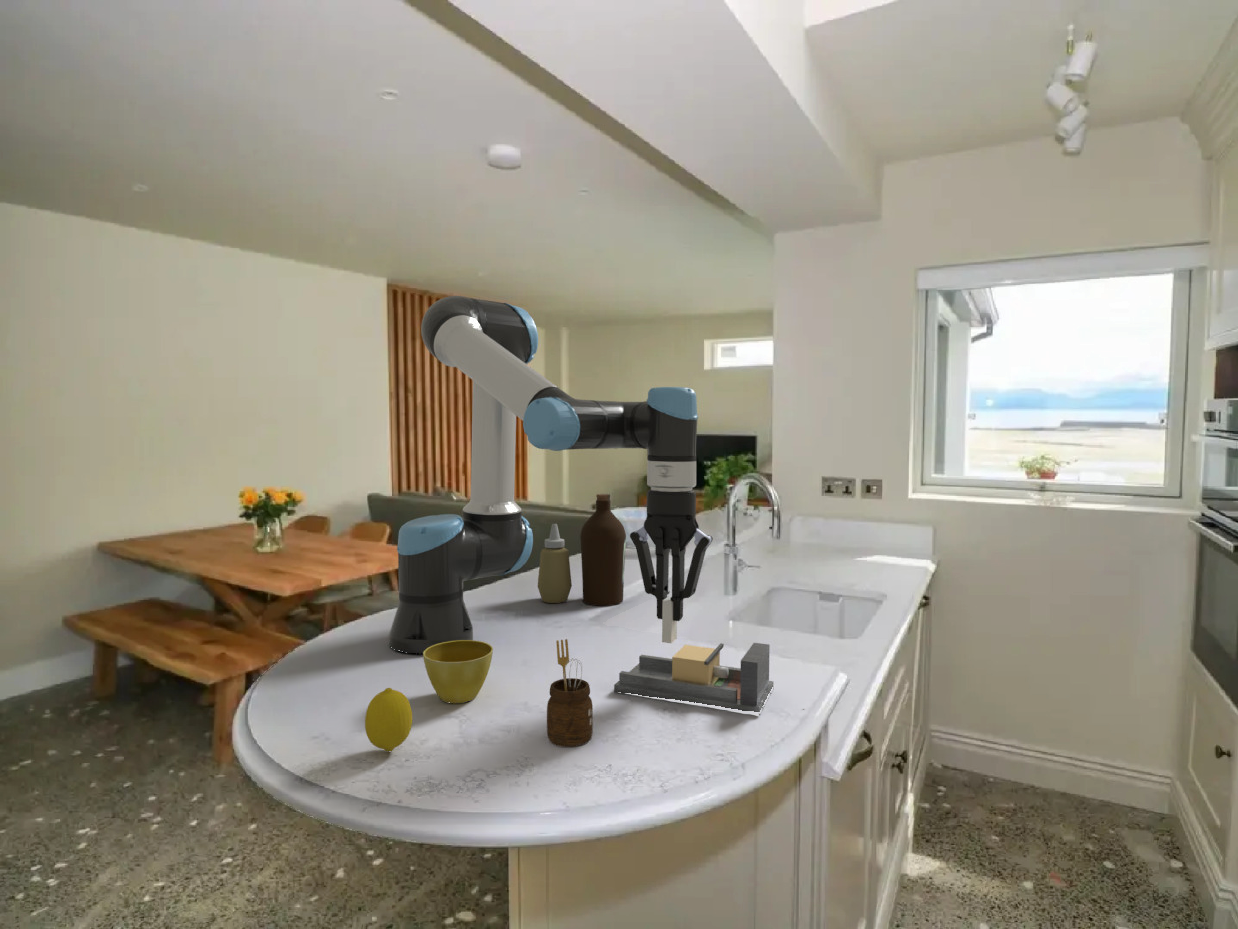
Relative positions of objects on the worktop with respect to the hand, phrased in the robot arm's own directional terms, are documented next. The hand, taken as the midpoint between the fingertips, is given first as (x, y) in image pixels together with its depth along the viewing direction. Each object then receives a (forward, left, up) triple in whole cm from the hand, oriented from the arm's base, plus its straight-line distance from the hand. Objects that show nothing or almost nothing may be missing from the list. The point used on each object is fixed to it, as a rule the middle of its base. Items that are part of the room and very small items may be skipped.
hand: (669, 640), depth 106 cm
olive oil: (+23, +49, -8) cm, 55 cm away
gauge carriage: (+3, -5, -6) cm, 8 cm away
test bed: (+2, -4, -7) cm, 8 cm away
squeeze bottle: (+14, +56, -8) cm, 59 cm away
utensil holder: (-22, -6, -8) cm, 24 cm away
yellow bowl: (-28, +15, -8) cm, 33 cm away
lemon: (-42, +4, -8) cm, 43 cm away
